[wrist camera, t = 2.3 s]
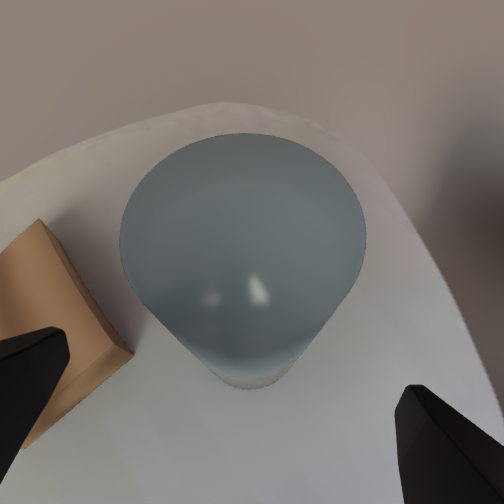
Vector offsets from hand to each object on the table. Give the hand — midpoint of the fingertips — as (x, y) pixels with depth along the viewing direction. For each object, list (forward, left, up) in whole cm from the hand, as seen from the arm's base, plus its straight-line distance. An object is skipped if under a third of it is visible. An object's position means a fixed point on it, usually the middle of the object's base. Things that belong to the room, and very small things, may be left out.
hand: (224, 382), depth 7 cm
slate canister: (+2, +2, -10) cm, 11 cm away
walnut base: (-9, +11, -10) cm, 17 cm away
